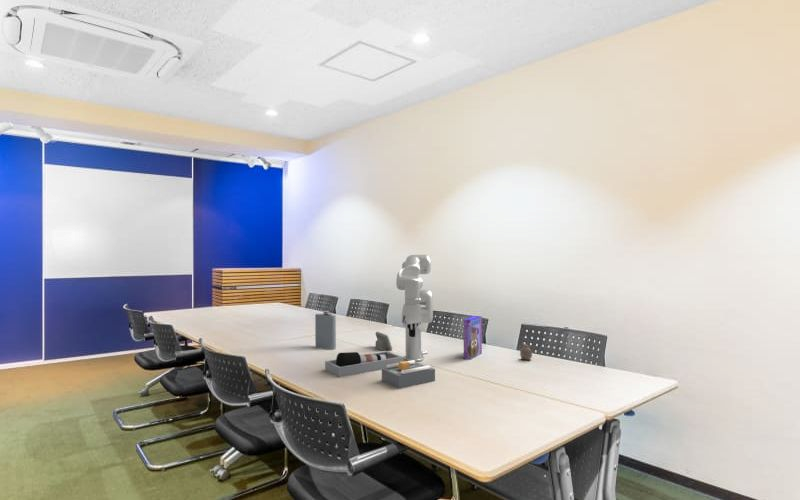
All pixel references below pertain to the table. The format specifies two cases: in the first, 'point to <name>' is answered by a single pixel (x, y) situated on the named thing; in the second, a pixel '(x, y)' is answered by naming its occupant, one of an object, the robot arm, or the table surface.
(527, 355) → the vase
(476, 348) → the cereal box
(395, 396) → the table surface
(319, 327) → the flask
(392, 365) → the cord
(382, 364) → the grey tray
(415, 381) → the grey slider switch panel
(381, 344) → the grey rock
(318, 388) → the table surface
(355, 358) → the cable
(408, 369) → the cord
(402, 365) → the block
